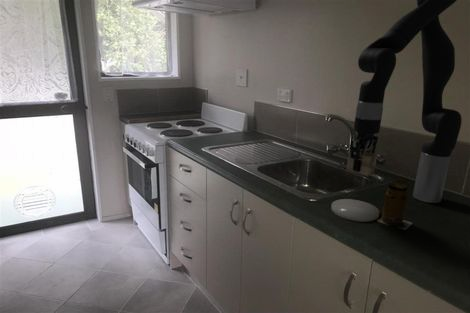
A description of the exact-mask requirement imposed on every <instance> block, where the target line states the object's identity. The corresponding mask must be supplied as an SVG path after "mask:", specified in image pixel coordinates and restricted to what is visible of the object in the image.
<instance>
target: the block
mask: <svg viewBox="0 0 470 313" xmlns="http://www.w3.org/2000/svg"><path fill="white" fill-rule="evenodd" d="M354 153H355V152H354ZM360 154H361V153H360ZM350 156H351V151H348V155H347V163H346V170H345V171H347V172H348V171H349V172H352V173H356V174H359V175H363V176H366V177H367V176H370V175H372V174H374V173H375V170H376V164H377V159H378V154H377V153H374V154H373V153H368V152H366V153H365V154H363V158H362V160H361V161H362V163H361V169H360V172H356V171H353V164H354V159H353V158H351V157H350Z"/></svg>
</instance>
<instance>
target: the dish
mask: <svg viewBox="0 0 470 313" xmlns="http://www.w3.org/2000/svg"><path fill="white" fill-rule="evenodd" d="M330 209H331V211H332V212H333V214H335V215H336V216H338V217H340V218H343V219H345V220H349V221H353V222H361V223H363V222H364V223H368V222H374V221H377V220H378V219H379V216H380V210H379V209H378V208H377V207H376V206H375V205H374V204H372V203H369V202H366V201H362V200H357V199H354V198H353V199H351V198H342V199H337V200H334V201H332V203H331V207H330Z"/></svg>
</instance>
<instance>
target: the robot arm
mask: <svg viewBox="0 0 470 313" xmlns="http://www.w3.org/2000/svg"><path fill="white" fill-rule="evenodd" d="M457 1H458V0H416V4H417V7H416V8H414V9H412V10H411V11H410V12H408V13H407V14H405V15H403V16H402V17H401V18H399V19H398V20H397V21H396V22H395V23H393V25H391V27H390V28H389V29H388V30H387V31H386V33H385V34H384V35H383V36H381V37H379V38H378V39H376V40H375V41H372V43H370V44H369V45H368V46H366V48H364V49H363V50H362V52H361V53H360V55H359V57H358V62H357V65H358V67H359V70H360V71H362V72H363V73H368V74H373V75H372V78H371V79H370V80H367V81H363V82H362V83H361V84H360V88H359V95H358V102H357V104H356V108H355V109H356V110H355V117H354V123H353V130H354V131H355V132H356V133H357V135H356V138H355V140H354V139H351V141H350V152H351V156H350V157H351V158H353V159H354V164H353V171H356V172H360V169H361V163H362V161H361V160H362V158H363V154H365V153H366V152H368V153H373V154H375V151H376V148H377V144H378V141H379V140H378V139H379V136H378V135H375V134H379V133H380V131H381V130H380V129H381V123H382V118H383V113H384V112H383V111H384V99H385V94H386V89H387V87H388V84H389V82H390V79H391V77H392V75H393V73H394V70H395V68H396V65H397V56H396V54H399V53H400V52H402V51H403V50H404V49H405V48H406V47H407V46H408V45H409V44H410V43H411V41H412V40H413V39H415V37H416V36H417V35H418V34H419V33H420V35H421V37H420V38H421V50H422V51H421V60H422V61H421V62H422V66H421V67H422V78H423V81H422V82H423V84H422V86H423V89H422V95H423V96H422V108H421V109H422V110H421V124H422V125H421V126H422V128H423V129H424V130H425V131H426V132H427V133H430V134H434V135H435V136H434V140H433V141H431V142H425V143H423V144H422V147H421V152H420V156H419V161H418V167H417V172H416V177H415V182H414V188H413V192H412V197H413V198H414V199H416V200H418V201H420V202H425V203H428V204H430V203H432V204H439V203H441V201H442V198H443V193H444V189H445V184H446V180H447V175H448V170H449V165H450V160H451V156H452V153H453V151H454V149H455V148H456V144H457V141H458V138H459V135H460V131H461V127H462V121H463V120H462V115H461V113H460V112H459V111H457V110H456V109H455V110H454V109H449V108H445V107H443V93H444V90H445V88H446V86H447V84H448V82H449V81H450V79H451V78H452V76H453V73H454V71H455V67H456V66H455V65H456V64H455V63H456V62H455V61H456V58H455V57H456V53H455V51H456V50H455V46H454V43H453V42H452V40H451V39H450V37H449V35H448V34H447V33H446V31H445V30H444V27H443V26H442V24H441V21H440V15H441V14H443V13H444V12H445V11H446V10H447V9H449V8H450V7H451V6H452V5H453V4H455V3H456V2H457ZM354 152H355V153H354ZM360 153H361V154H360Z"/></svg>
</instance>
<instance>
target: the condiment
mask: <svg viewBox="0 0 470 313" xmlns="http://www.w3.org/2000/svg"><path fill="white" fill-rule="evenodd" d="M407 191H408V187H407V186H406V185H405V184H402V183H397V182H392V183H389V184H388V188H387V191H386V193H385V197H384V201H383V202H384V203H383V208H382V213H381V217H380V218H378V219H376V222H379V223H381V224H384V225H386V226H391V227H394V228H397V229H400V230H404V231H407V229H409V227H411V225H412V224H413V222H411V221H407V220H405V219H404V218H405V217H404V216H405V212H406V207H407V206H406V205H407V199H408V195H407V194H408V192H407Z"/></svg>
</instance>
